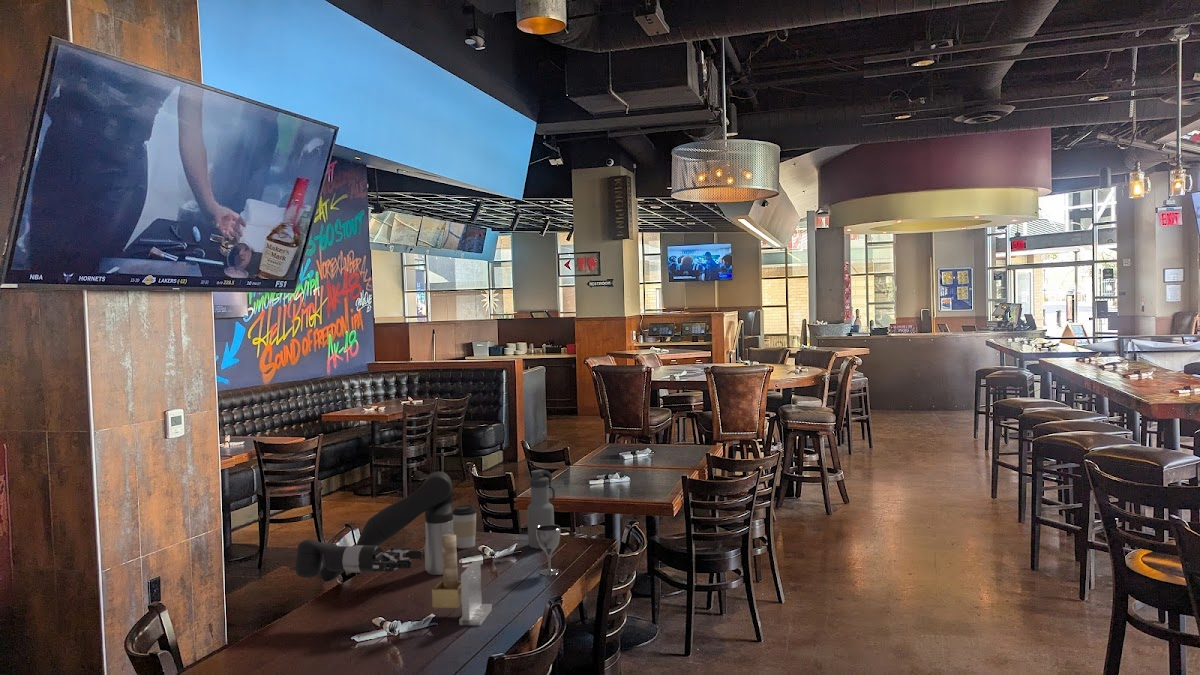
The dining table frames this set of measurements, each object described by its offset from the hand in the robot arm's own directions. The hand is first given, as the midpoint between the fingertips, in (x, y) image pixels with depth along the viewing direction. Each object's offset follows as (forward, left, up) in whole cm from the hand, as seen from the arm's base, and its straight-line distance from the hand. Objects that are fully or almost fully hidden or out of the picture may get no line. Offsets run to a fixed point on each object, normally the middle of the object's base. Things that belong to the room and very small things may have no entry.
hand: (416, 559), depth 220 cm
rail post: (+8, +5, -11) cm, 15 cm away
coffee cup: (-41, +56, -17) cm, 71 cm away
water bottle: (-16, +71, -17) cm, 75 cm away
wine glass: (+7, +49, -17) cm, 52 cm away
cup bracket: (+11, +7, -16) cm, 21 cm away
